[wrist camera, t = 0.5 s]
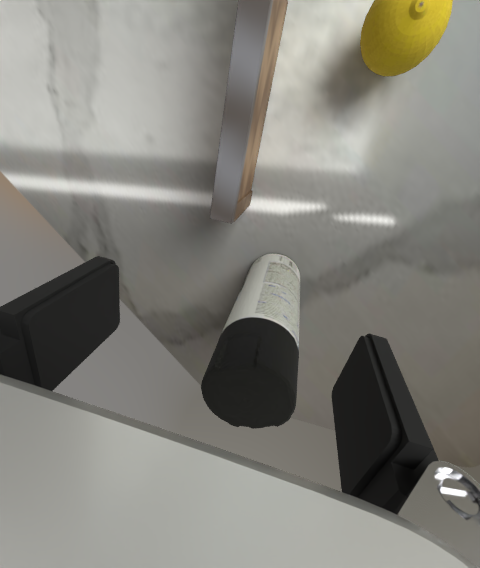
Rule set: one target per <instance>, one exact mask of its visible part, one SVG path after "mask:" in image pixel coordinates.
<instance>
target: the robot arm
mask: <svg viewBox="0 0 480 568" xmlns="http://www.w3.org/2000/svg"><path fill="white" fill-rule="evenodd" d="M119 322H120V312H119V268H118V266H117V265H116V264H115V262H114V261H113V260H111V259H107V258H104V257H100V256H98V257H95V258H93V259H91V260H89V261H87V262H85V263H83V264H82V265H80V266H78V267H76V268H74V269H72V270H70V271H68V272H67V273H64V274H62V275H60V276H59V277H57V278H55V279H53V280H51V281H49V282H47V283H45V284H43V285H41V286H39V287H38V288H36V289H34V290H32V291H30V292H28V293H26V294H24V295H22V296H20V297H18V298H17V299H15V300H13V301H11V302H9V303H7V304H5V305H3V306H1V307H0V568H480V485H479V484H478V483H477V482H476V481H475V480H474V479H473V478H472V477H471V476H470V475H469V474H467V473H466V472H464V471H463V470H461V469H460V468H458V467H456V466H454V465H452V464H450V463H448V462H444V461H439V460H438V458H437V456H436V453H435V451H434V448H433V446H432V444H431V441H430V439H429V437H428V434H427V432H426V430H425V427H424V425H423V423H422V420H421V418H420V416H419V413H418V411H417V409H416V406H415V404H414V402H413V399H412V397H411V395H410V392H409V390H408V388H407V385H406V383H405V381H404V378H403V376H402V374H401V371H400V369H399V367H398V364H397V362H396V359H395V357H394V355H393V352H392V350H391V348H390V345H389V343H388V341H387V339H386V338H383V337H379V336H376V335H372V334H367V335H366V336H361V337H360V338H359V340H358V342H357V344H356V346H355V347H354V349H353V351H352V353H351V355H350V357H349V359H348V361H347V363H346V364H345V366H344V368H343V370H342V372H341V374H340V376H339V378H338V380H337V381H336V383H335V385H334V387H333V390H332V404H333V413H334V422H335V432H336V440H337V450H338V459H339V469H340V477H341V487H342V492H340V491H338V490H335V489H332V488H329V487H327V486H324V485H321V484H319V483H316V482H313V481H310V480H308V479H305V478H302V477H300V476H297V475H294V474H291V473H288V472H285V471H283V470H280V469H277V468H274V467H271V466H268V465H265V464H263V463H259V462H257V461H254V460H251V459H248V458H245V457H242V456H240V455H237V454H234V453H231V452H228V451H225V450H222V449H220V448H217V447H213V446H211V445H208V444H205V443H202V442H199V441H197V440H194V439H191V438H188V437H185V436H182V435H179V434H176V433H173V432H170V431H167V430H164V429H162V428H159V427H156V426H153V425H150V424H147V423H144V422H141V421H138V420H135V419H132V418H129V417H126V416H123V415H121V414H117V413H115V412H112V411H109V410H106V409H103V408H100V407H97V406H94V405H91V404H88V403H85V402H82V401H79V400H76V399H73V398H70V397H68V396H64V395H62V394H59V393H55V392H53V391H52V390H54V389H55V388H56V387H57V386H58V385H59V384H60V383H61V382H62V381H63V380H64V379H65V378H66V377H67V376H68V375H69V374H70V373H71V372H72V371H73V370H74V369H75V368H77V367H78V366H79V365H80V364H81V362H83V361H84V360H85V359H86V358H87V357H88V356H89V355H90V354H91V353H92V352H93V351H94V350H95V349H96V348H97V347H98V346H99V345H100V344H101V343H102V342H103V341H105V339H107V338H108V337H109V336H110V335H111V334H112V333H113V332H114V331H115V330H116V329H117V327H118V325H119Z"/></svg>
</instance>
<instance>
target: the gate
mask: <svg viewBox="0 0 480 568" xmlns="http://www.w3.org/2000/svg"><path fill="white" fill-rule="evenodd" d="M287 4H288V1H287V0H239V1H238V8H237V16H236V23H235V31H234V38H233V46H232V54H231V61H230V69H229V76H228V84H227V92H226V99H225V107H224V114H223V122H222V129H221V137H220V145H219V152H218V160H217V167H216V175H215V183H214V190H213V198H212V205H211V213H210V218H211V219H215V220H219V221H223V222H227V223H231V224H232V223H233V222H234V221H235V220H236V219H237V218H238V217H239V216H240V215H241V214H242V213H243V212H244V211H245V209H246V208H247V207H248V206H249V205H250V201H251V196H252V191H251V187H252V182H253V177H254V172H255V167H256V162H257V157H258V152H259V147H260V142H261V136H262V131H263V126H264V121H265V116H266V111H267V106H268V101H269V96H270V91H271V86H272V80H273V75H274V70H275V65H276V60H277V55H278V50H279V45H280V40H281V35H282V30H283V24H284V19H285V14H286V9H287Z"/></svg>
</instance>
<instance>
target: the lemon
mask: <svg viewBox="0 0 480 568" xmlns="http://www.w3.org/2000/svg"><path fill="white" fill-rule="evenodd" d="M452 1H453V0H375V1H374V2H373V4H372V6H371V8H370V10H369V12H368V13H367V15H366V18H365V21H364V24H363V27H362V31H361V40H360V46H361V54H362V57H363V60H364V63H365V64H366V65H367V67H368V68H369V69H370V70H371V71H373V72H374V73H376V74H378V75H382V76H395V75H399V74H402V73H405V72H407V71H409V70H410V69H412V68H414V67H416V66H417V65H418V64H419V63H420V62H422V61H423V60H424V59H425V58H426V57H427V56H428V55H429V54H430V53H431V51H432V50H433V49H434V48H435V46H436V45H437V44H438V42H439V40H440V39H441V37H442V35H443V33H444V31H445V29H446V27H447V24H448V21H449V18H450V15H451V10H452Z"/></svg>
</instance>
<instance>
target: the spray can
mask: <svg viewBox="0 0 480 568" xmlns="http://www.w3.org/2000/svg"><path fill="white" fill-rule="evenodd" d="M299 309H300V273H299V270H298V268H297V266H296V265H295V263H294V262H293V261H292V260H291V259H290V258H288V257H286V256H283V255H280V254H266V255H264V256H262V257H260V258H259V259H257V260H256V261H255V262H254V263H253V264H252V266H251V268H250V270H249V272H248V274H247V276H246V278H245V281H244V284H243V286H242V288H241V291H240V293H239V295H238V297H237V300H236V302H235V304H234V306H233V309H232V311H231V313H230V315H229V318H228V320H227V322H226V324H225V326H224V329H223V331H222V333H221V336H220V338H219V341H218V343H217V346H216V348H215V351H214V353H213V356H212V358H211V360H210V363H209V365H208V368H207V370H206V372H205V375H204V377H203V380H202V385H201V389H202V394H203V398H204V401H205V402H206V404H207V406H208V407H209V409H210V410H211V411H212V412H213V413H214V414H215V415H217V416H218V417H219V418H220V419H222V420H224V421H226V422H228V423H229V424H231V425H233V426H236V427H239V426H246V427H251V428H263V427H267V426H279V425H282V424H284V423H285V422H286V421H288V420H289V419H290V417H291V415H292V414H293V412H294V410H295V406H296V395H297V375H298V359H299V350H298V349H299Z"/></svg>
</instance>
